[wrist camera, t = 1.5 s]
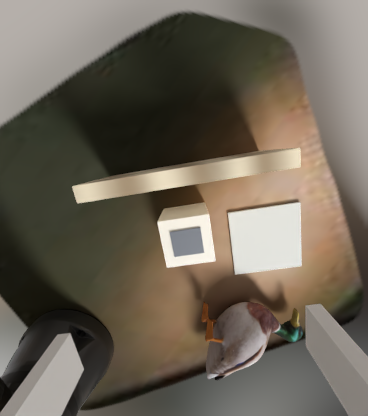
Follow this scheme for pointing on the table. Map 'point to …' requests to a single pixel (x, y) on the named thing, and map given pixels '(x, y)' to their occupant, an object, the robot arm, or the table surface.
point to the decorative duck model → (243, 336)
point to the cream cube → (186, 235)
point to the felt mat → (266, 238)
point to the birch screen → (188, 174)
